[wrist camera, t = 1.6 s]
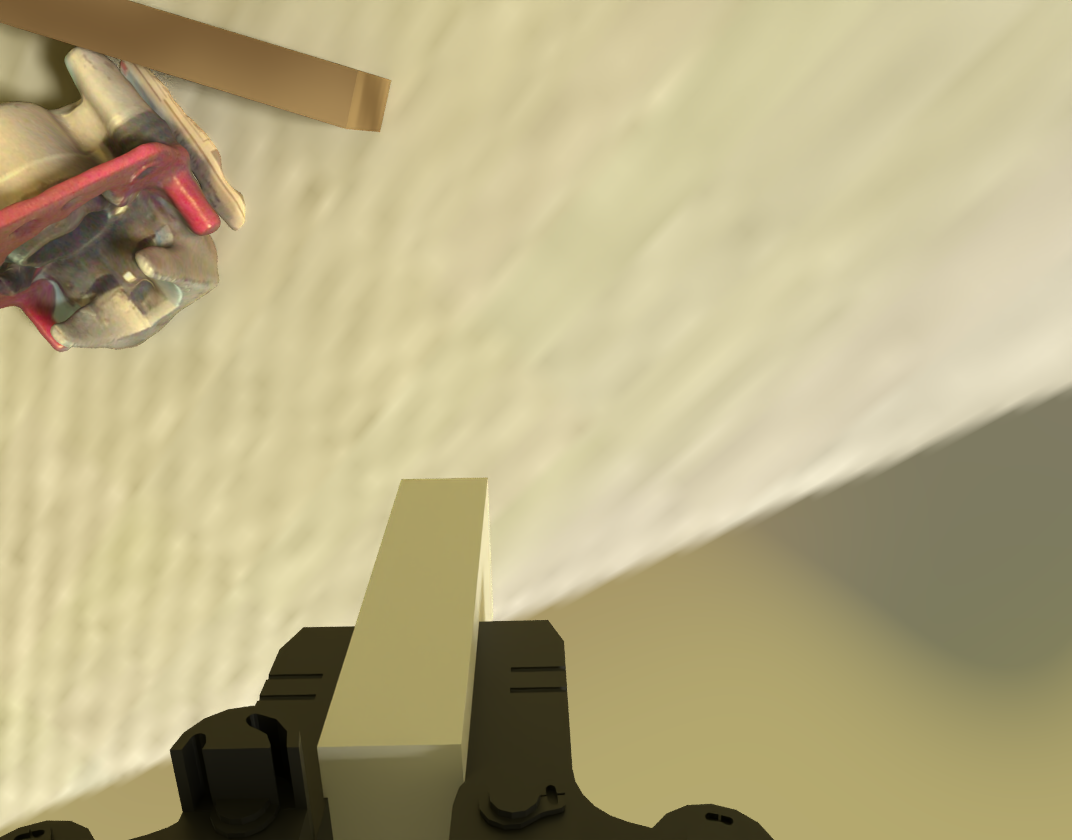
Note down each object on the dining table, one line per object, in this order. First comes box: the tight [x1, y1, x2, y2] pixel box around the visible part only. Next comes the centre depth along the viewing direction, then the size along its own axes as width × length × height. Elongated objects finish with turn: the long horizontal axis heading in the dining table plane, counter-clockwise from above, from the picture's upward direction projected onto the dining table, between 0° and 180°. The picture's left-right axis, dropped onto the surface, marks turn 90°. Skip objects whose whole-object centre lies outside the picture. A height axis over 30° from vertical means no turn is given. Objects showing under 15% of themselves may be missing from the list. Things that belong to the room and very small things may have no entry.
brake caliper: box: [0, 46, 245, 352], centre depth 34 cm, size 11×11×12 cm
